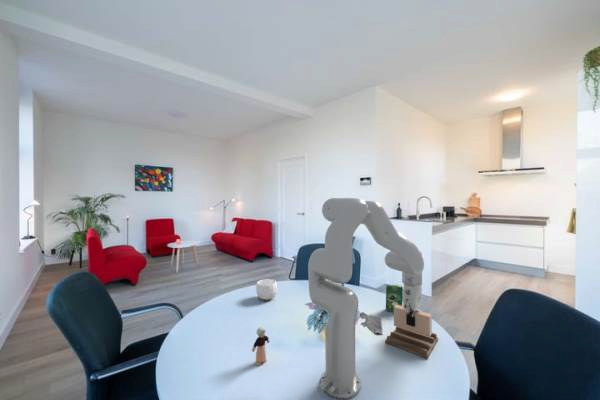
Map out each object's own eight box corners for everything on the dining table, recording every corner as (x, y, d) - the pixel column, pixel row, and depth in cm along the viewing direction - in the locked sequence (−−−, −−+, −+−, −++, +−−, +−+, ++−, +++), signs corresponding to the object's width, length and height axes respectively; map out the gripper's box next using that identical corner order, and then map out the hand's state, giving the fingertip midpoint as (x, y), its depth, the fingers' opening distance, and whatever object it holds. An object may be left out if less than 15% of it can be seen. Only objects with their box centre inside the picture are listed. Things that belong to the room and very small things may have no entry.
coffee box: (401, 309, 134) (401, 284, 133) (402, 312, 131) (402, 286, 130) (385, 308, 135) (385, 284, 135) (386, 311, 132) (386, 286, 132)
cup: (276, 302, 144) (276, 285, 144) (254, 303, 144) (254, 286, 144) (278, 294, 156) (278, 278, 156) (258, 294, 156) (258, 278, 156)
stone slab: (359, 311, 130) (379, 312, 128) (359, 315, 130) (380, 316, 128) (360, 331, 112) (383, 332, 110) (360, 336, 112) (384, 337, 110)
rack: (427, 359, 94) (427, 352, 94) (385, 342, 104) (385, 336, 104) (438, 339, 106) (438, 334, 106) (399, 327, 116) (399, 321, 116)
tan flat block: (429, 337, 99) (429, 317, 99) (393, 325, 109) (393, 306, 108) (431, 333, 102) (431, 314, 101) (396, 322, 111) (396, 304, 111)
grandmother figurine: (258, 369, 89) (258, 333, 89) (250, 365, 91) (250, 330, 91) (272, 357, 96) (272, 323, 96) (264, 353, 98) (264, 321, 98)
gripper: (415, 287, 96) (415, 335, 96) (427, 276, 108) (427, 318, 109) (395, 282, 101) (395, 328, 101) (409, 272, 113) (409, 313, 114)
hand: (412, 323), depth 105 cm, fingers closed on tan flat block, 3 cm apart
